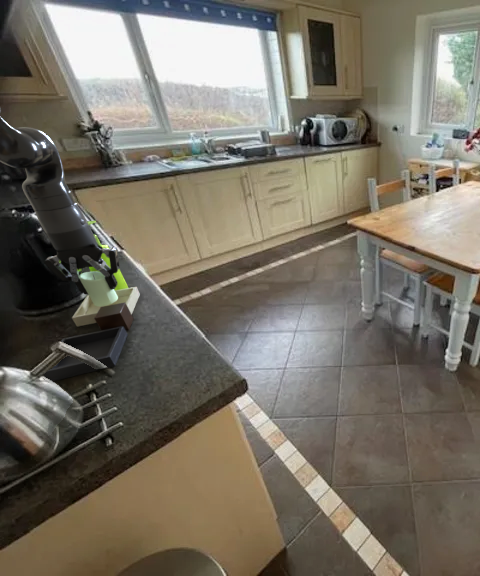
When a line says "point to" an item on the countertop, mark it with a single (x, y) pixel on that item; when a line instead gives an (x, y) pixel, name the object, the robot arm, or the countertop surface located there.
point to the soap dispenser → (118, 275)
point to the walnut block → (114, 317)
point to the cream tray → (89, 310)
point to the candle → (98, 288)
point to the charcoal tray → (90, 352)
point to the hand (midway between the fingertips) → (100, 290)
